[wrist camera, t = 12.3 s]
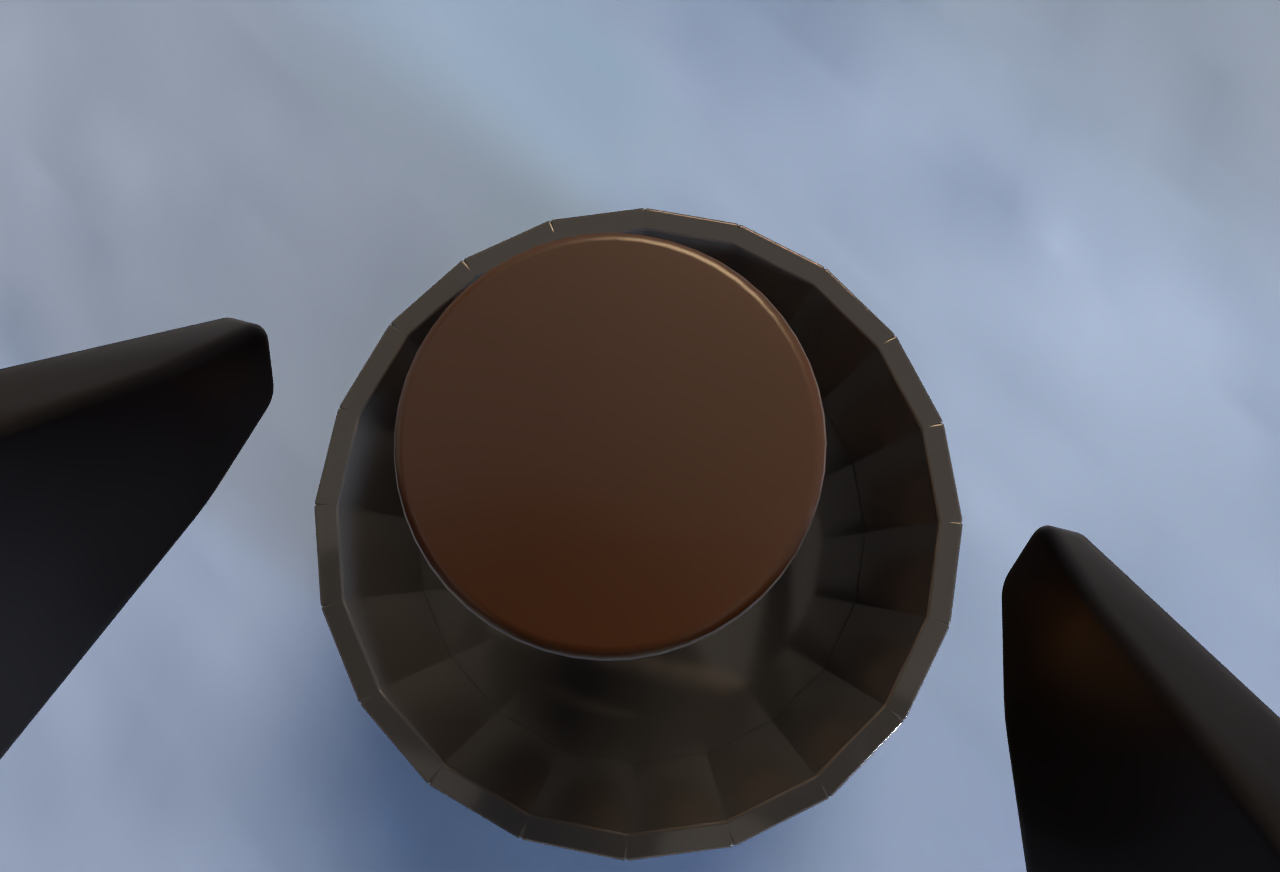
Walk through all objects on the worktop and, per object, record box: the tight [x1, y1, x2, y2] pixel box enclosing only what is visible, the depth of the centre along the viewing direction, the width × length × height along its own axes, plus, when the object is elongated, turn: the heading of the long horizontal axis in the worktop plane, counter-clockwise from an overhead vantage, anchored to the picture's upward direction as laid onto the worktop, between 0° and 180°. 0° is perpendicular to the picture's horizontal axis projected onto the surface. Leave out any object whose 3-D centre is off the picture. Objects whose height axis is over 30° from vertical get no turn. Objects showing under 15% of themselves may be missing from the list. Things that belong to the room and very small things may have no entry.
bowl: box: [315, 208, 962, 861], centre depth 15 cm, size 10×10×5 cm
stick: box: [394, 233, 827, 661], centre depth 11 cm, size 3×3×12 cm
